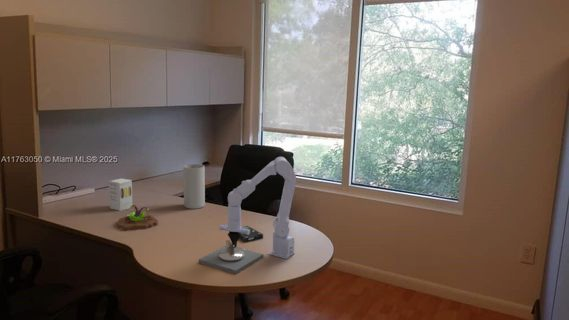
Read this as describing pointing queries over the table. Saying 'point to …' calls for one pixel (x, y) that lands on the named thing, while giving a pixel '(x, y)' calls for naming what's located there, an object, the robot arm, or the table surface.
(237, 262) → the dial panel
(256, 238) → the disk drive
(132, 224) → the plant
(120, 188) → the supplement box
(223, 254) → the dial
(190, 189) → the cylinder vase
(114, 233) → the table surface
